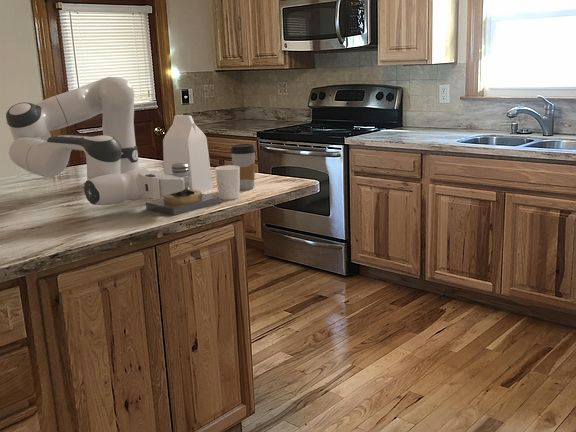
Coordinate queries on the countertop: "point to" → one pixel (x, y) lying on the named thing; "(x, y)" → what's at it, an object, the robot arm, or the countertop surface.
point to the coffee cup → (245, 164)
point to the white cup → (228, 181)
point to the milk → (188, 152)
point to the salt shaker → (180, 171)
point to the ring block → (182, 202)
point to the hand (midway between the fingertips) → (183, 177)
